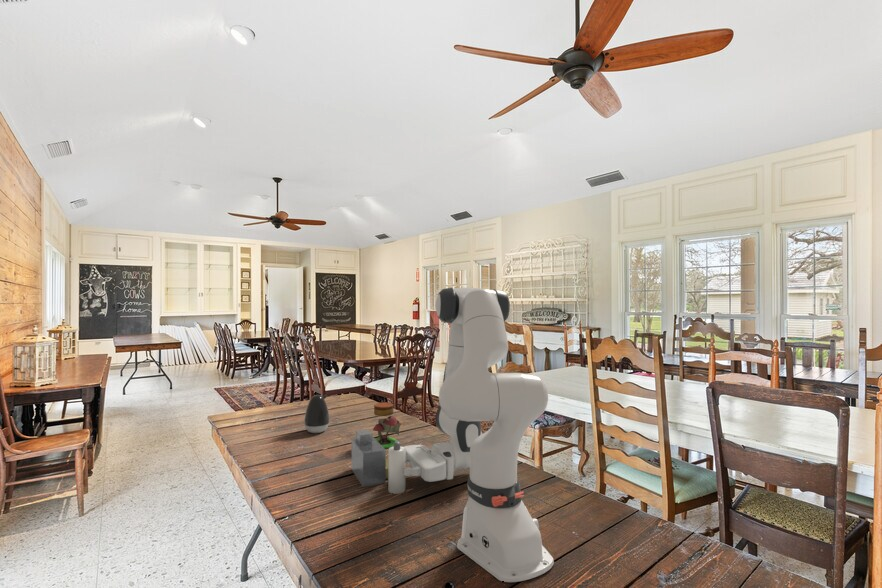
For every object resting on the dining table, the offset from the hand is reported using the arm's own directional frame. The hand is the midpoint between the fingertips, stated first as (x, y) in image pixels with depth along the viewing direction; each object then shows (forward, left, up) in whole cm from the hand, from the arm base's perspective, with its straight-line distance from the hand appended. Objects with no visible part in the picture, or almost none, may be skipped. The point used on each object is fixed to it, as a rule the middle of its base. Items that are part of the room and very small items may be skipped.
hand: (397, 465), depth 124 cm
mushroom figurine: (+38, -9, -7) cm, 40 cm away
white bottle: (0, 0, -7) cm, 7 cm away
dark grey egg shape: (+64, +12, -7) cm, 66 cm away
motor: (+14, +2, -7) cm, 16 cm away
